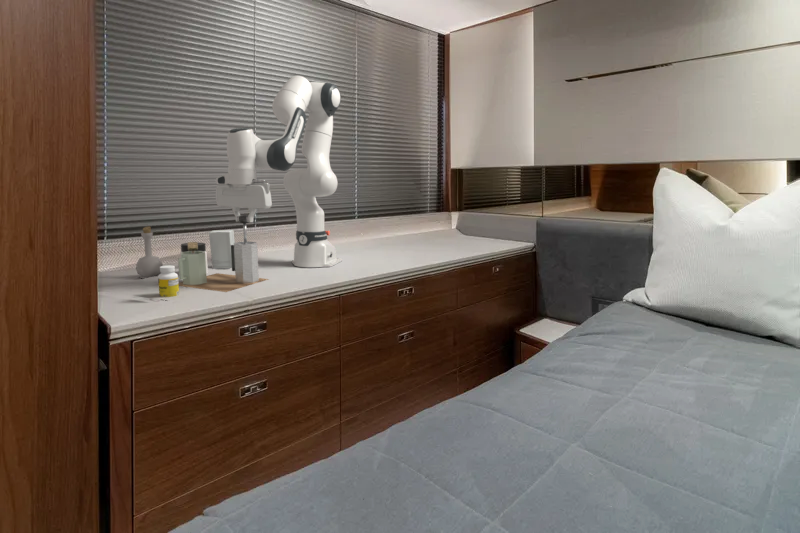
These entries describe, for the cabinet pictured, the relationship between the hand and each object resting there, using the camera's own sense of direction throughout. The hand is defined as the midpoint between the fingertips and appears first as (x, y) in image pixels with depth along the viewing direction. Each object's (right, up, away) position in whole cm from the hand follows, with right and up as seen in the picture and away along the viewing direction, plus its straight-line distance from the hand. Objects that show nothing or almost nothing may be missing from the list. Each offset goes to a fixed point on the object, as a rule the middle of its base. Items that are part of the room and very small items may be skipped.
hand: (244, 221), depth 163 cm
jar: (-23, -19, +15) cm, 33 cm away
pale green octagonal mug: (-17, -20, 0) cm, 26 cm away
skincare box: (-18, -16, +33) cm, 41 cm away
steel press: (-1, -20, +4) cm, 20 cm away
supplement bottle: (-17, -25, -16) cm, 34 cm away
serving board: (-8, -21, +2) cm, 23 cm away
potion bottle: (-38, -19, +14) cm, 45 cm away
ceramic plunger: (-17, -17, 0) cm, 24 cm away
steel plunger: (0, -9, +2) cm, 9 cm away
